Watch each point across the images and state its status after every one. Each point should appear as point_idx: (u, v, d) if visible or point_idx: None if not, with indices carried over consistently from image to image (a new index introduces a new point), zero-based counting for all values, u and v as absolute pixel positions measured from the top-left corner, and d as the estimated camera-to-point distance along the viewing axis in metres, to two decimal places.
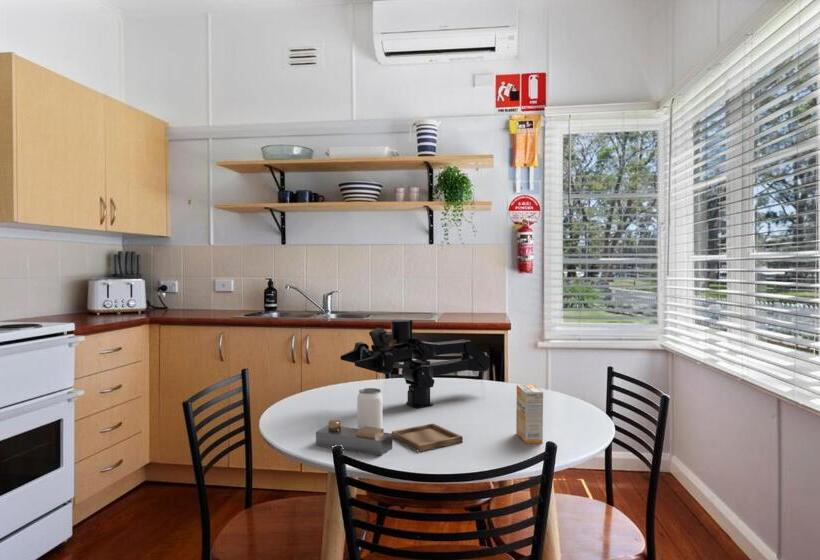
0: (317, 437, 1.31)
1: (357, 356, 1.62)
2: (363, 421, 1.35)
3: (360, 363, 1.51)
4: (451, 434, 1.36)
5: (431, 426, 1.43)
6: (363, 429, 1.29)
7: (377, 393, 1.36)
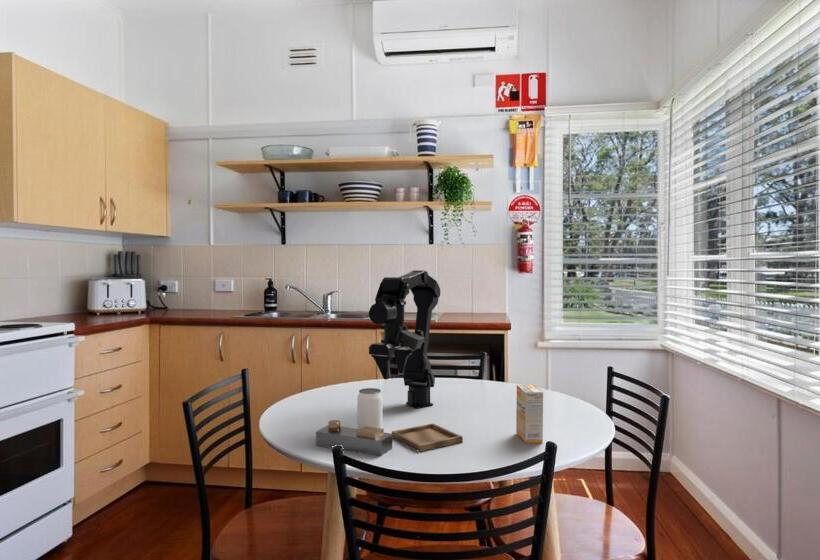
0: (317, 437, 1.31)
1: None
2: (363, 421, 1.35)
3: None
4: (451, 434, 1.36)
5: (431, 426, 1.43)
6: (363, 429, 1.29)
7: (377, 393, 1.36)
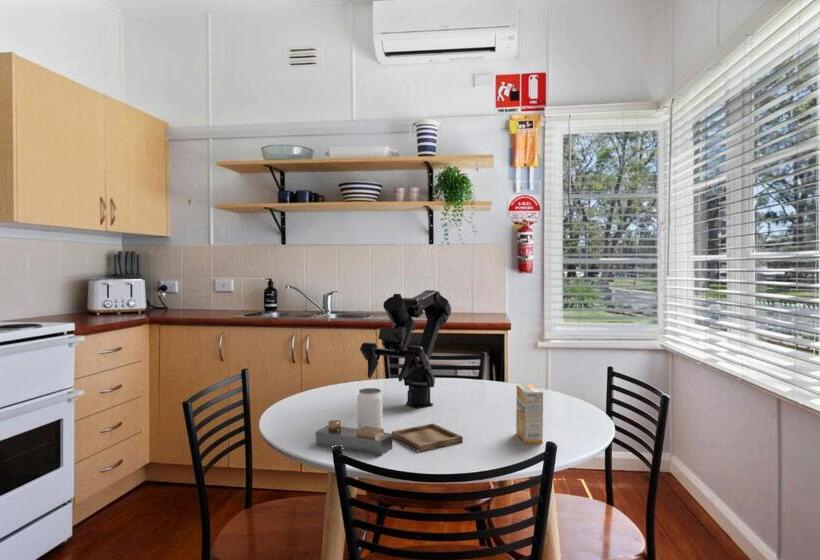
0: (317, 437, 1.31)
1: (374, 360, 1.51)
2: (363, 421, 1.35)
3: (402, 375, 1.44)
4: (451, 434, 1.36)
5: (431, 426, 1.43)
6: (363, 429, 1.29)
7: (377, 393, 1.36)
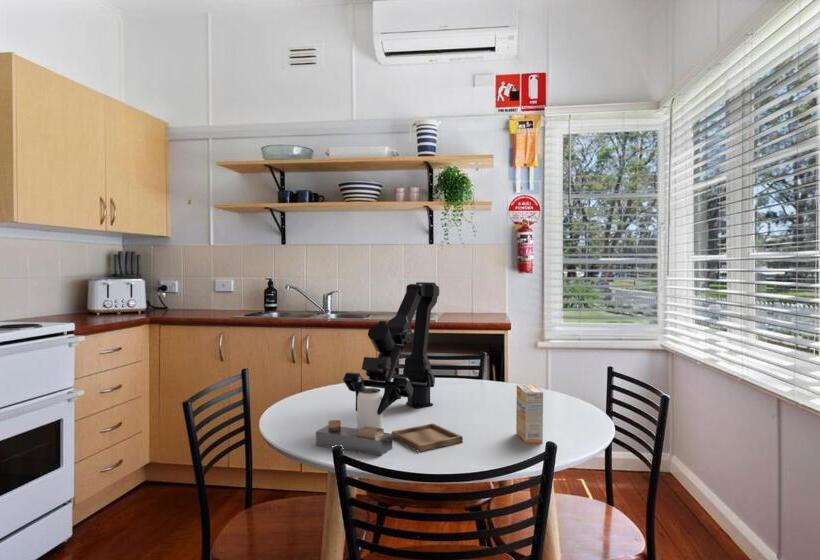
0: (317, 437, 1.31)
1: None
2: (363, 421, 1.35)
3: (382, 408, 1.36)
4: (451, 434, 1.36)
5: (431, 426, 1.43)
6: (363, 429, 1.29)
7: (377, 393, 1.36)
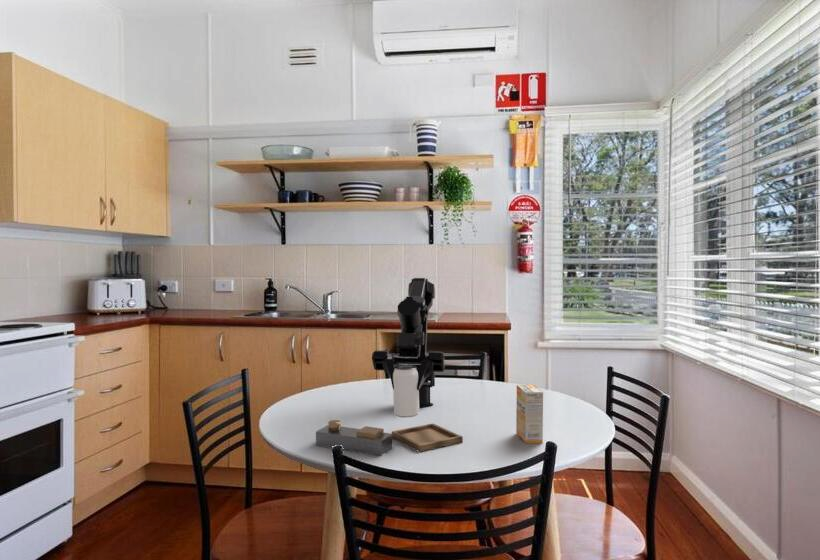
0: (317, 437, 1.31)
1: (394, 369, 1.39)
2: (404, 398, 1.32)
3: (420, 384, 1.35)
4: (451, 434, 1.36)
5: (431, 426, 1.43)
6: (363, 429, 1.29)
7: (415, 369, 1.34)
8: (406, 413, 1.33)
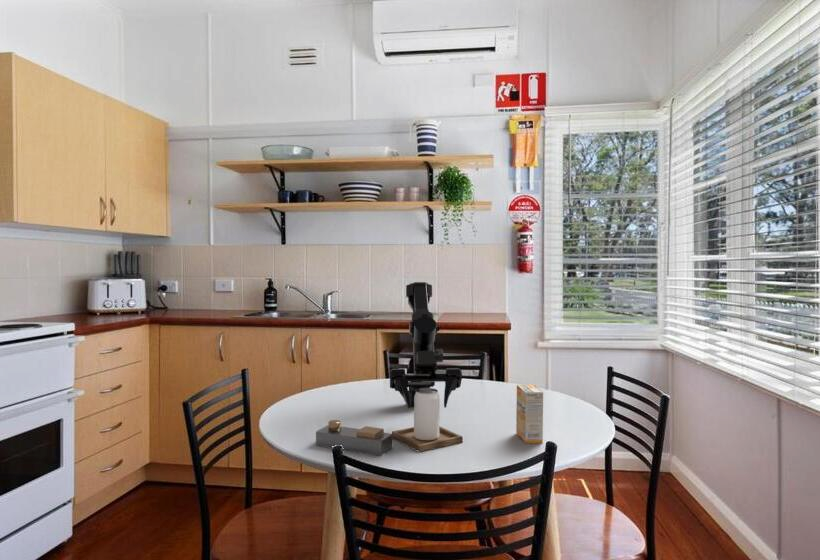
0: (317, 437, 1.31)
1: None
2: (427, 422, 1.33)
3: (447, 401, 1.35)
4: (451, 434, 1.36)
5: None
6: (363, 429, 1.29)
7: (437, 392, 1.35)
8: (428, 437, 1.33)
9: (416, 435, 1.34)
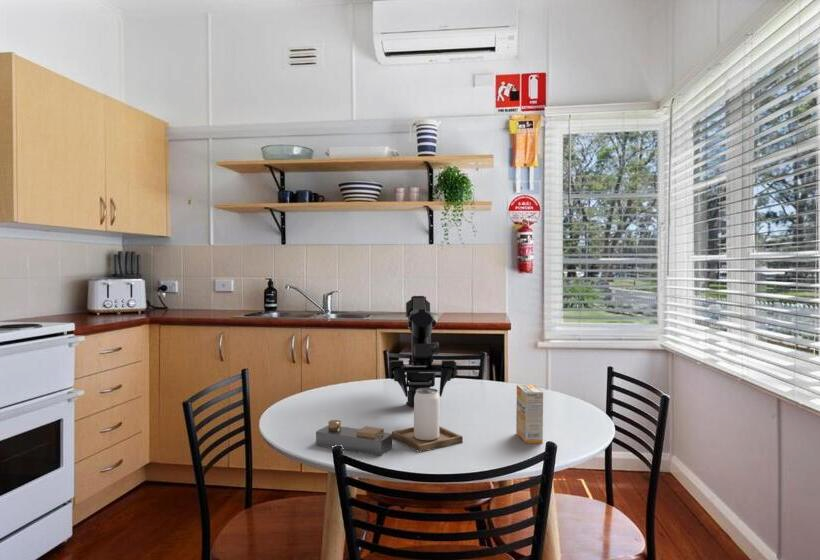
0: (317, 437, 1.31)
1: None
2: (427, 422, 1.33)
3: (442, 390, 1.45)
4: (451, 434, 1.36)
5: None
6: (363, 429, 1.29)
7: (437, 392, 1.35)
8: (428, 437, 1.33)
9: (416, 435, 1.34)
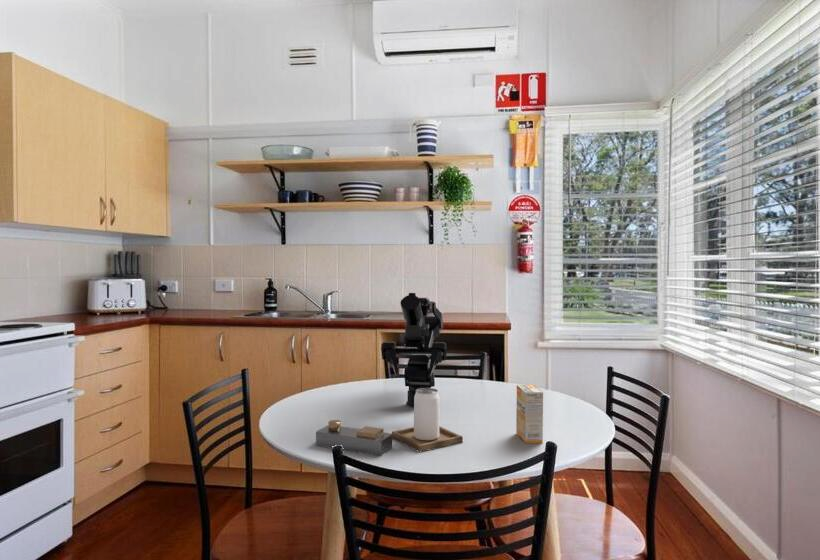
0: (317, 437, 1.31)
1: None
2: (427, 422, 1.33)
3: (431, 371, 1.49)
4: (451, 434, 1.36)
5: None
6: (363, 429, 1.29)
7: (437, 392, 1.35)
8: (428, 437, 1.33)
9: (416, 435, 1.34)
